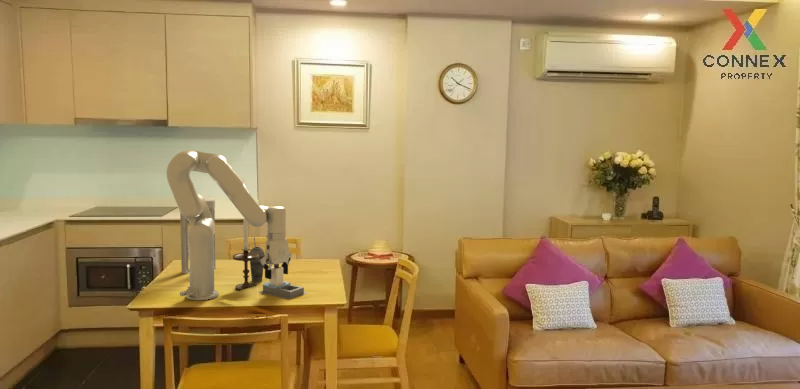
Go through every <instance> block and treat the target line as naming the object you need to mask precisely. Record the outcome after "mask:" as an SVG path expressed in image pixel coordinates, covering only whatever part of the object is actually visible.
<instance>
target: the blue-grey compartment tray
mask: <svg viewBox="0 0 800 389" xmlns="http://www.w3.org/2000/svg"><path fill="white" fill-rule="evenodd" d="M259 293H260V294H265V295H268V296H273V297H275V298H276V297H277V298H281V299H284V300H290V299H293V298H297V297H300V296H303V295H306V294H308V293H309V292H308V291H305V288H304V286H299V285H295V284H291V282H290V281H289V282H288V281H285V280H283V285H279V286H273V285H270V281H267V282H264V283H263V284H262V290H261V291H259Z"/></svg>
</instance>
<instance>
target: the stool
mask: <svg viewBox="0 0 800 389" xmlns="http://www.w3.org/2000/svg"><path fill="white" fill-rule="evenodd" d="M202 197H203V198H204V200H205V201H206V203H207V206H208V208H209V211H210V213H211V215H212V218H213V220H214V223H215V224H216V221H215V220H216V219H215V218H216V216H215V215H216V214H215V212H216V211H215V208H216V200H215V198H214V197H207V196H202ZM179 213H180V212H179ZM179 216H180V219H179V220H180V259H181V260H180V261H181V262H180V266H181V274H184V275H187V274H190V267H189V243H188V231H189V228H188V227H189V226H188V223H189V221H188V219H187V218H185V217H184V216H182V214H181V213H180V214H179ZM213 245H214V271H215V270H216V268H217V267H216V232H215V233H214V235H213Z"/></svg>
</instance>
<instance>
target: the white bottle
mask: <svg viewBox="0 0 800 389" xmlns="http://www.w3.org/2000/svg"><path fill="white" fill-rule="evenodd" d="M270 269H271V279H269V282H270V285H273V286H279V285H283V281H284V274H283V267H282V266H280V264H276V265H273V266H272V267H271V268H270Z"/></svg>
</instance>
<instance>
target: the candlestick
mask: <svg viewBox="0 0 800 389" xmlns="http://www.w3.org/2000/svg"><path fill="white" fill-rule="evenodd" d="M242 223H243V226H242V227H243V228H242V230H243V248H242V249H241V251H242V252H241V253H235V254H233V255H232V259H233V260H235V261H238V262H239V261H240V262H244V264H243V266H244V269H243V270H242V273H243V279H244V282H243V283H239V284H236V285H235V288H234V289H235V290H236V291H244V290H246V289H250V288H253V287H257V286H258V285H257V284H256V283H254V282H252V283H251V282H249V278H250V276H249V273H250V270H249V269H248V268H249V266H248V265H249V264H248V262H250V260H255V259H258V258H259V254H256V253H249V251H250V250H251V249H252V248H249V222H248V221H247V220H246V219H245V218H244V217H243V222H242Z"/></svg>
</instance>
